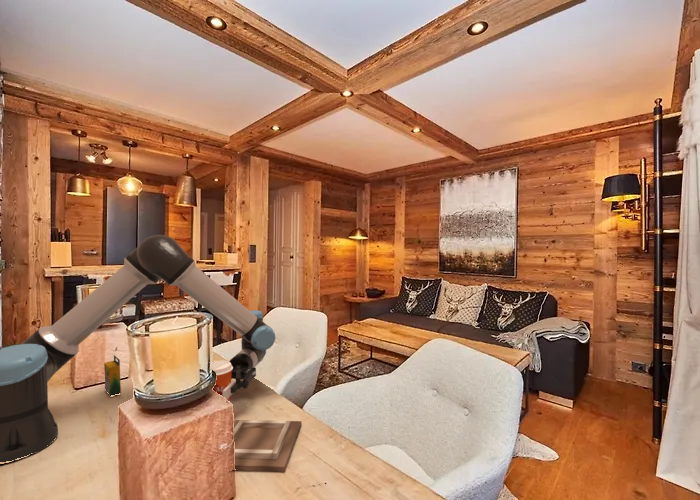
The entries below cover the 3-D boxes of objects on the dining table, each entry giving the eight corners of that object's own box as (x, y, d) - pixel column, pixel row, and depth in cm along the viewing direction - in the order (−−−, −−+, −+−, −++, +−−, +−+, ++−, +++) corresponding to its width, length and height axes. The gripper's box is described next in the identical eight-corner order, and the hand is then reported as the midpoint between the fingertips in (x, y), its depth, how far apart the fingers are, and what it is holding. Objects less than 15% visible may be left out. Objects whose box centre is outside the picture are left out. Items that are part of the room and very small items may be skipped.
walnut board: (202, 469, 71) (201, 458, 71) (235, 424, 89) (235, 415, 89) (284, 472, 70) (284, 460, 70) (301, 425, 88) (301, 416, 88)
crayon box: (104, 391, 110) (103, 356, 110) (115, 388, 112) (114, 354, 112) (110, 398, 105) (109, 362, 105) (121, 395, 108) (120, 359, 107)
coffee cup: (223, 427, 88) (221, 371, 87) (195, 424, 89) (194, 369, 89) (239, 411, 96) (238, 360, 96) (214, 409, 98) (213, 358, 97)
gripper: (272, 375, 110) (246, 410, 87) (213, 375, 111) (173, 409, 88) (271, 353, 110) (246, 382, 87) (213, 352, 111) (172, 381, 88)
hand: (209, 395), depth 88 cm, fingers closed on coffee cup, 7 cm apart
